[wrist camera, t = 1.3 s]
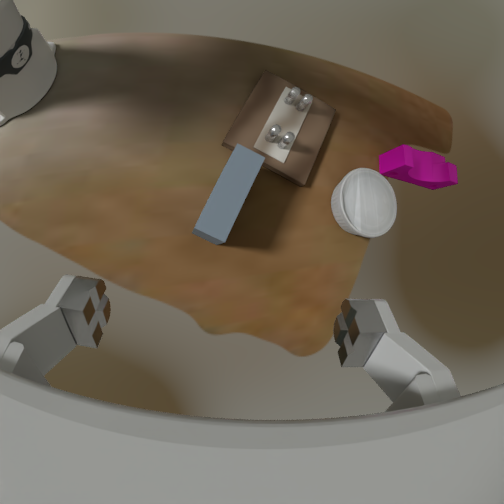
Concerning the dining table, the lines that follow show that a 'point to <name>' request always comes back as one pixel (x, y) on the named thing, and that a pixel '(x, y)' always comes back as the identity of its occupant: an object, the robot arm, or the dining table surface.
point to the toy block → (418, 167)
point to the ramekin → (364, 203)
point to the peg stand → (282, 127)
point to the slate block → (228, 195)
